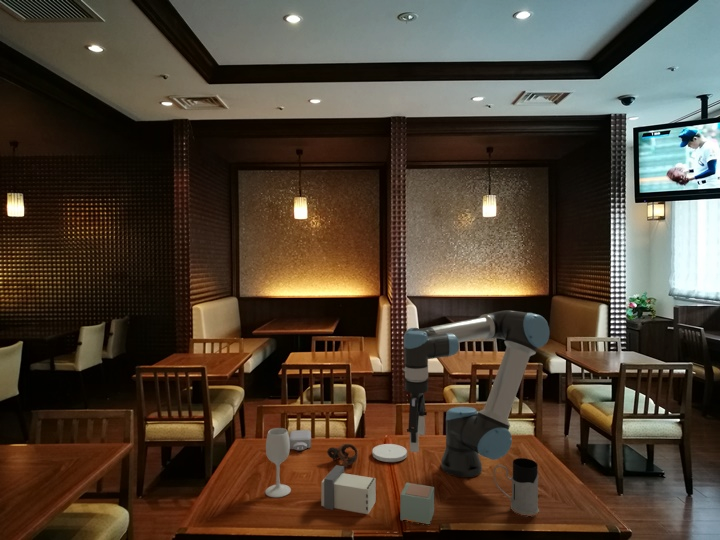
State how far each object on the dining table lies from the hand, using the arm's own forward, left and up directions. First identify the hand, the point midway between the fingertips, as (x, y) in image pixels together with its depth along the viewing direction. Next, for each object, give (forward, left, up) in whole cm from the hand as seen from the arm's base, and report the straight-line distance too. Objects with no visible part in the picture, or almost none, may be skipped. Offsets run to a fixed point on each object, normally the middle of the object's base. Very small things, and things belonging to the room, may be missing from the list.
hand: (417, 442), depth 155 cm
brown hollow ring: (+34, -21, -21) cm, 45 cm away
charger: (+56, -29, -21) cm, 67 cm away
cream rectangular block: (+21, +8, -20) cm, 30 cm away
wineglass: (+47, +8, -20) cm, 52 cm away
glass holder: (-31, -7, -20) cm, 38 cm away
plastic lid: (+18, -32, -21) cm, 42 cm away
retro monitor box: (-2, +8, -20) cm, 21 cm away
